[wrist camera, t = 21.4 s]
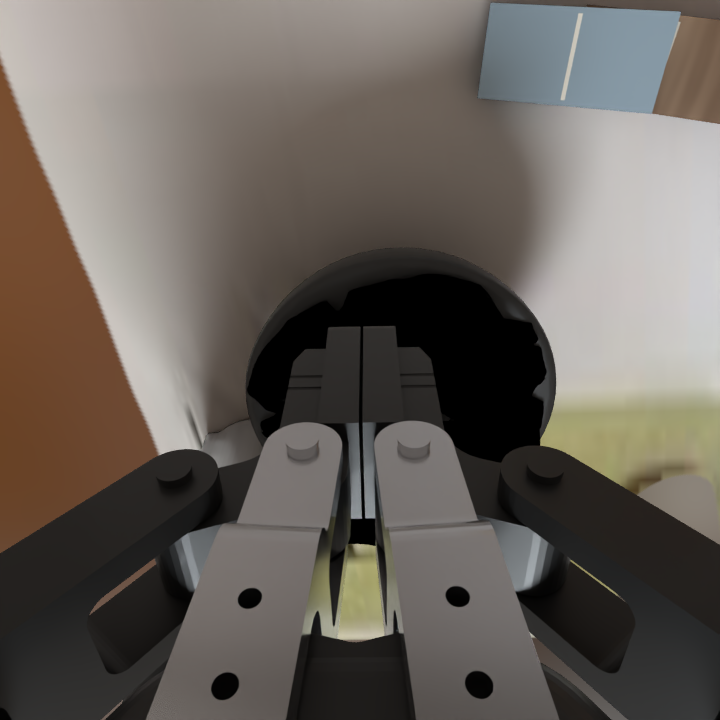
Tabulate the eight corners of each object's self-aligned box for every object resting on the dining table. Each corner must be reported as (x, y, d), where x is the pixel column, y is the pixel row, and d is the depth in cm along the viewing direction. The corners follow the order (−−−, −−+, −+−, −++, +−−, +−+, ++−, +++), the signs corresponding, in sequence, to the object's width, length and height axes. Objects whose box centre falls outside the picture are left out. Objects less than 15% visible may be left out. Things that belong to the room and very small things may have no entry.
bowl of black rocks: (287, 436, 51) (251, 630, 35) (246, 216, 41) (169, 350, 25) (513, 423, 50) (582, 616, 34) (530, 195, 40) (640, 320, 24)
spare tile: (477, 98, 35) (651, 113, 33) (490, 2, 33) (681, 11, 30) (481, 95, 37) (649, 110, 34) (494, 3, 34) (677, 12, 32)
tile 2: (561, 99, 35) (738, 126, 33) (587, 4, 33) (781, 27, 30) (562, 97, 37) (732, 123, 34) (587, 5, 34) (772, 27, 32)
